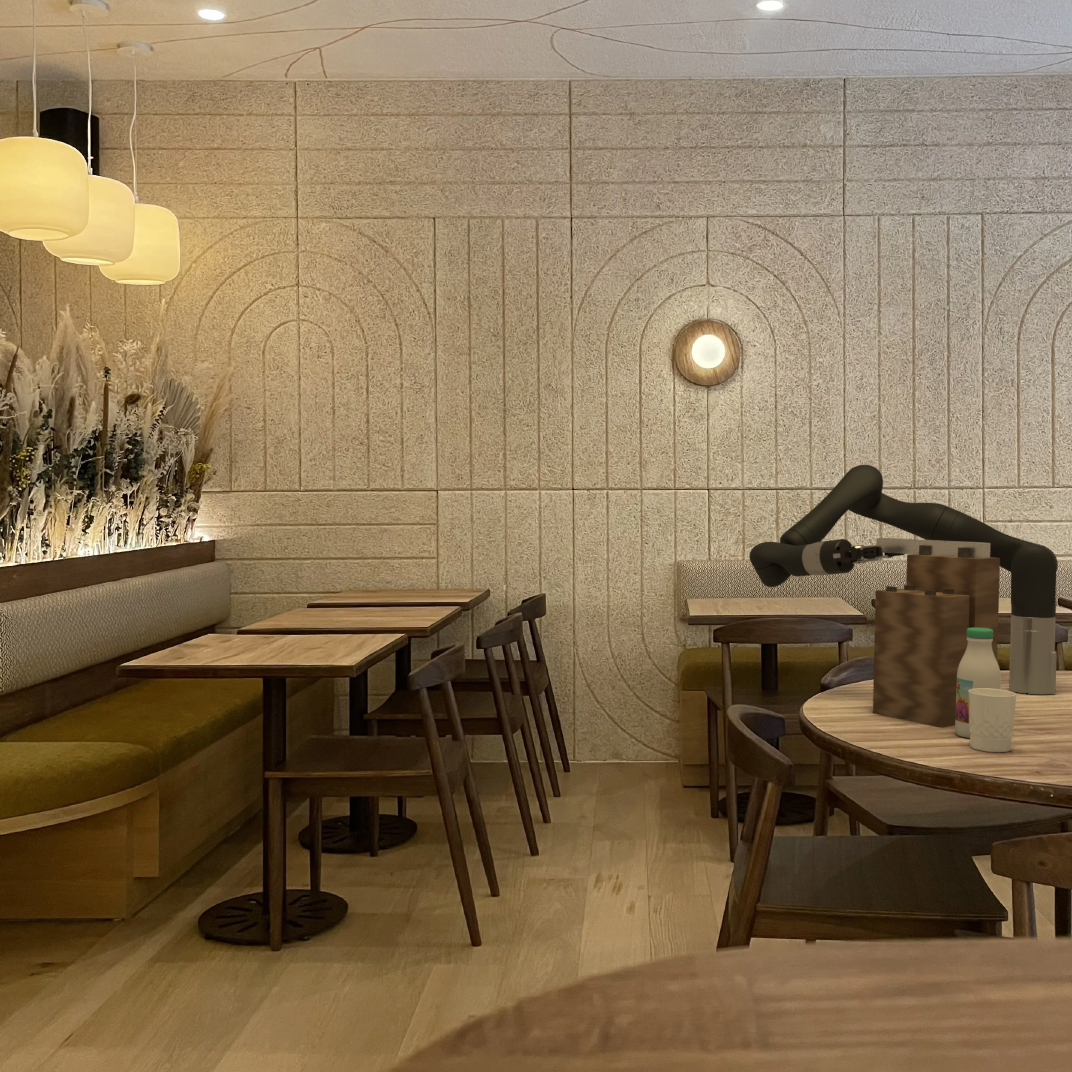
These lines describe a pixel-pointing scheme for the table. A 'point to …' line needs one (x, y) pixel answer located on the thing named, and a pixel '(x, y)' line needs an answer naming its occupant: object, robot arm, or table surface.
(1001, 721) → the white cup
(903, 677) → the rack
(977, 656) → the milk bottle
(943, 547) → the block
